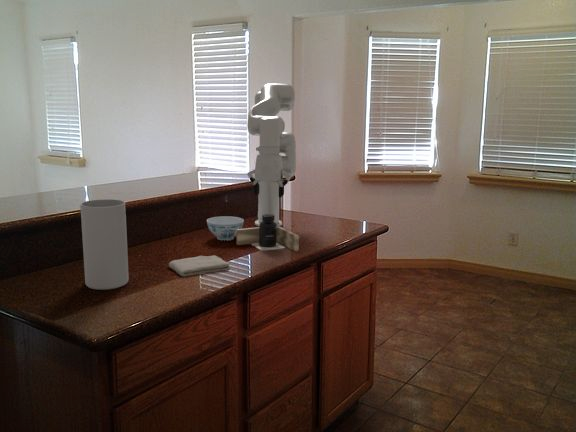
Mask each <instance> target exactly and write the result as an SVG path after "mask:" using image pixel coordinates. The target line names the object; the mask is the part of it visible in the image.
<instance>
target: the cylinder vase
mask: <svg viewBox="0 0 576 432" xmlns="http://www.w3.org/2000/svg"><path fill="white" fill-rule="evenodd" d="M126 210H127V209H126V201H125V200H120V199H111V198H110V199H109V198H107V199H106V198H105V199H92V200H86V201H82V202H80V218H81V219H80V220H81V233H82V234H81V235H82V237H81V238H82V251H83V252H82V253H83V269H84V270H83V271H84V283H85V286H86V287H88V288H89V289H92V290H98V291H101V290H102V291H105V290H113V289H114V290H115V289H118V288H121V287H124V286H125V285H127V284H128V282H129V258H128V257H129V256H128V255H129V254H128V237H127V236H128V235H127V216H126V215H127V213H126Z"/></svg>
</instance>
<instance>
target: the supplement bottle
mask: <svg viewBox="0 0 576 432" xmlns="http://www.w3.org/2000/svg"><path fill="white" fill-rule="evenodd" d="M262 220H263V221H262V222H260V224H259V226H258V227H259V245H260V246H262V247H274V246H276V242H277V241H276V236H277V224H276V223H275V222H274V220H275V216H274V215H271V214H264V215H262Z"/></svg>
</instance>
